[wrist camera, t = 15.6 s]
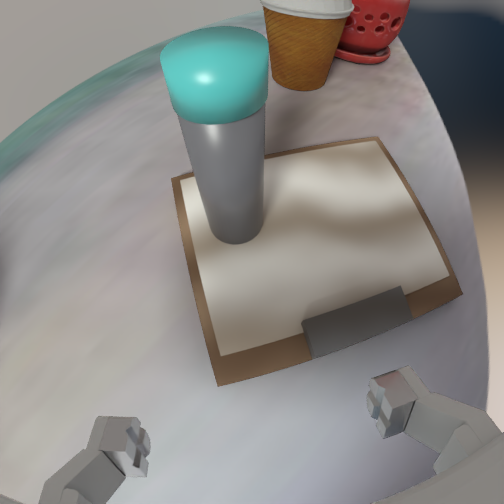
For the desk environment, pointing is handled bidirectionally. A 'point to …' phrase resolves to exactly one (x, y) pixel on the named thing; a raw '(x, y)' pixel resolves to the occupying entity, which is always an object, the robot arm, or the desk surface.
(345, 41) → the plant pot
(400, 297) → the clipboard
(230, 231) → the ball
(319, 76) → the disposable coffee cup
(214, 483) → the desk surface
